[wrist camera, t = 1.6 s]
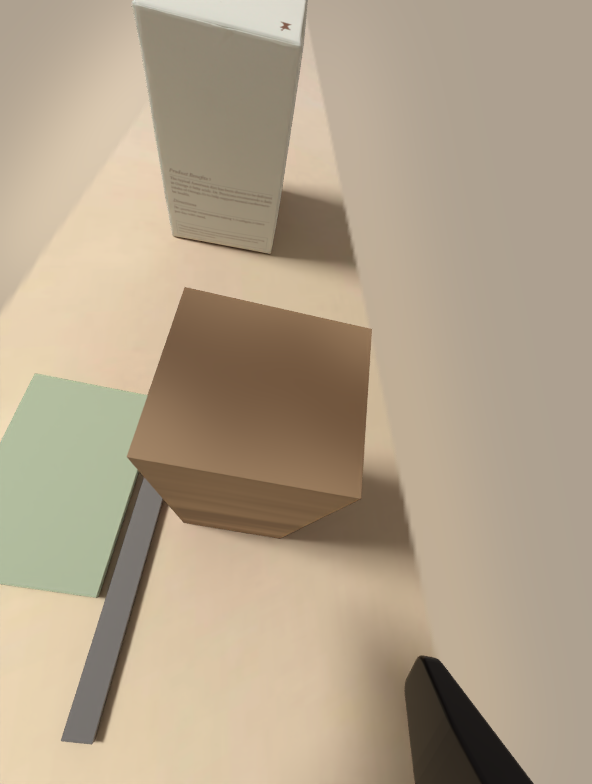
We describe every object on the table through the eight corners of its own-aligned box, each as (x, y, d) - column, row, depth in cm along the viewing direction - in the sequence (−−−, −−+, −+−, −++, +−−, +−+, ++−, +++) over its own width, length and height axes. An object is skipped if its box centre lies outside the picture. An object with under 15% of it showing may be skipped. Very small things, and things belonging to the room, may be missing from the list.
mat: (98, 596, 18) (95, 597, 17) (-60, 574, 17) (-66, 574, 16) (161, 400, 22) (160, 397, 22) (38, 376, 21) (34, 373, 21)
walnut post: (279, 538, 20) (360, 498, 8) (183, 522, 19) (126, 457, 8) (292, 455, 22) (372, 328, 10) (205, 439, 21) (184, 287, 10)
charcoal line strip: (94, 741, 16) (91, 744, 15) (63, 738, 15) (60, 740, 15) (217, 309, 25) (217, 306, 25) (199, 305, 25) (199, 302, 25)
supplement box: (282, 189, 31) (316, -29, 20) (271, 257, 28) (305, 44, 16) (189, 168, 30) (169, -72, 19) (167, 237, 27) (127, -4, 16)
